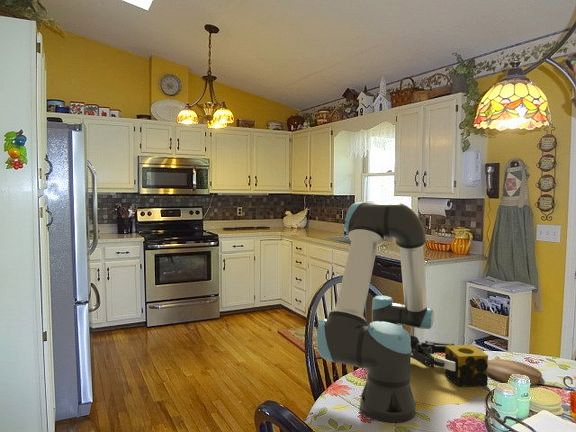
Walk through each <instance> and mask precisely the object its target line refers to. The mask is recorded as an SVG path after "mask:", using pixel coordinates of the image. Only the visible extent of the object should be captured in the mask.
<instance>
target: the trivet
mask: <svg viewBox="0 0 576 432" xmlns="http://www.w3.org/2000/svg"><path fill="white" fill-rule="evenodd" d="M487 372H488V377H489V378H490V379H493V380H495V381H498V382H501V383H504V382H508V380H509V378H510V376H511V375H512V374H520V375H526V376H528V377H529V379H530V383H531V386H537V385H539V384H541V383H542V381H543V374H542V372H541V371H540V370H539V369H537V368H535V367H534V366H531V365H529V364H526V363H523V362H520V361H517V360H510V359H500V358H497V359H496V358H495V359H493V358H492V359H488V367H487Z"/></svg>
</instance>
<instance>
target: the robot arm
mask: <svg viewBox="0 0 576 432" xmlns="http://www.w3.org/2000/svg"><path fill="white" fill-rule="evenodd" d="M344 221H345V223H344V230H345V232H346V234H347V236H348V239H349V240H350V246H349V249H348V250H349V251H348V255H347V258H346V263H345V267H344V271H343V276H342V280H341V284H340V288H339V292H338V296H337V300H336V305H335V307H334V309H332V310H330V311H329V312H328V317H327V318H324V319H323V318H322V319H321V320H320V321H319V323H318V325H317V330H316V346H317V347H316V348H317V351H318V353H319V355H320V357H321V359H324V360H325V361H329V362H332V363H335V364H337V363H338V364H343V365H347V366H353V367H356V368H362V369H366V370H367V371H366V374H367V375H366V381H365V384H364V387H363V390H362V393H361V396H360V399H359V401H360V405H359V407H360V409H361V411H362V412H363V413H364V414H365V415H366V416H368V417H370V418H372V419H374V420H378V421H381V422H387V423H403V422H408V421H410V420H412V419H413V418H414V417H415V416H416V411H417V407H416V406H417V405H416V401H415V397H414V394H413V391H412V387H411V359H414V361H417V362H419V363H420V364H422V365H424V366H425V367H427V368H428V367H430V368H432V369H434V368H435V366H436V367H439V368H442V369H444V370H445V369H448V370H451V371H456V362H453V361H449V360H446V359H445V358H442V357H440V356H439V357H438V356H435V357H434V356H433V355H434V354H445V346H448V345H455V344H454V343H453V342H451V343H448V342H438V341H431V340H424V342H420V341H419V338H418V337H417V336H414V335H411V334H410V333H409V331H408V330H407V329H405V328H404V327H403V326H405V327H411V328H417V329H422V330H431V329H432V327H433V325H434V321H435V320H434V319H435V314H434V312H435V311H434V309H433V308H430V307H427V305H428V304H427V292H426V291H427V289H426V287H427V286H426V276H425V275H426V274H425V257H424V256H425V255H424V246H425V245H426V243H427V239H426V238H427V236H426V230H425V228H424V225H423V222H422V221H421V219H420V217H419V216H418V214H417V213H416V212H415V211H414V210H413V209H411V208H410V207H409V206H408V205H405V204H403V203H401V202H395V201H394V202H373V201H371V202H370V201H360V202H358V201H357V202H354V203H352V204H351V205H350V206H349V208H348V210H347V211H346V215H345V219H344ZM385 238H387V239H388V238H391V239H392V238H393V239H395V244H396V246H397V247H398V248H399V257H400V258H399V259H400V266H401V267H400V268H401V279H402V290H403V291H402V292H403V299H404V300H403V301H404V304H401V303H394V299H393V298H392V297H391V296H387V295H375V296H374V297H373V298H372V305H371V321H370V322H369V324H368V321H367V319H366V318H365V316H364V313H365V308H366V304H367V299H368V293H369V288H370V284H371V280H372V275H373V270H374V264H375V261H376V260H375V259H376V254H377V250H378V247H380V246H382V245H383V244H384V239H385ZM367 324H368V325H367Z"/></svg>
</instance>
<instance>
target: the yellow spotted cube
mask: <svg viewBox="0 0 576 432" xmlns="http://www.w3.org/2000/svg"><path fill="white" fill-rule="evenodd" d="M444 354H445V356H444V359H446V360H449V361H453V362H456V371H451V370H448V369H445V368H444V375H445V374H446V377H447V376H449V377H448V379H449V378H450V379H451V380H450V379H449V380H450V381H452V383H453V384H455V386H457V387H478V386H479V387H485V386H488V384H489V382H488V381H489V380H488V379H489V378H488V377H489V376H488V372H487V367H488V360H489V355H488V354H487V353H485V352H484V351H482V350H481V349H479V348H478V347H477V346H476V345H474V344H456V345H455V344H454V345H448V346H445V353H444Z"/></svg>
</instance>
